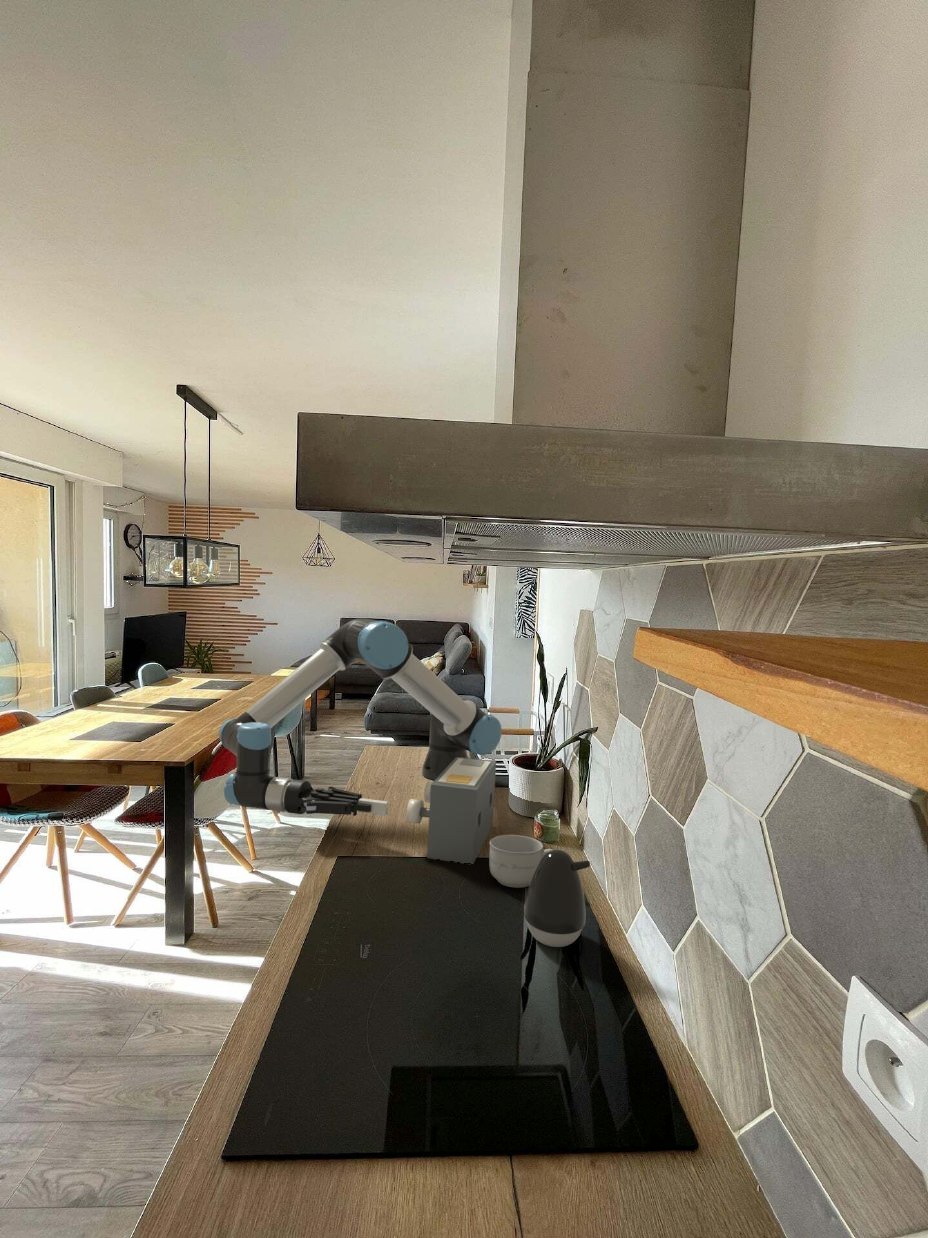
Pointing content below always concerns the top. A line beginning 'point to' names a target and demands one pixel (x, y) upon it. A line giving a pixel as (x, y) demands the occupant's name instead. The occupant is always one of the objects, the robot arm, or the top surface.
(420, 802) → the marked button
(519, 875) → the teacup
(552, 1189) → the top surface
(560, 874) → the pump dispenser
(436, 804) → the box
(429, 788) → the unmarked button
